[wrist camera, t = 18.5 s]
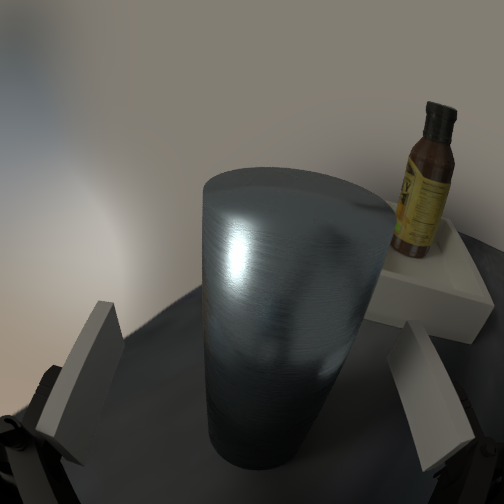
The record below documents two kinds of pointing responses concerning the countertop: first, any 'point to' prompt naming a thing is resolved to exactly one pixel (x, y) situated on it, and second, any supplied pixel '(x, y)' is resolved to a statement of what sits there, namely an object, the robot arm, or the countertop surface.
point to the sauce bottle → (425, 184)
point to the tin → (282, 301)
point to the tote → (433, 289)
